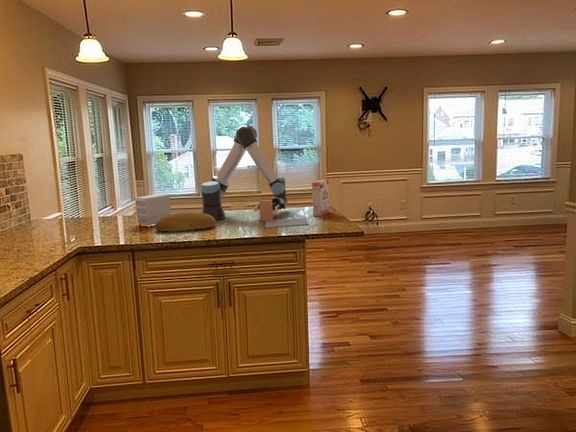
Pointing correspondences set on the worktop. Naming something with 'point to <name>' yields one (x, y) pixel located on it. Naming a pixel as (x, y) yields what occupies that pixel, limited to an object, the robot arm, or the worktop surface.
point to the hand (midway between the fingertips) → (264, 209)
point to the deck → (266, 210)
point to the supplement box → (152, 208)
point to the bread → (185, 221)
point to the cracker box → (320, 197)
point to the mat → (286, 223)
